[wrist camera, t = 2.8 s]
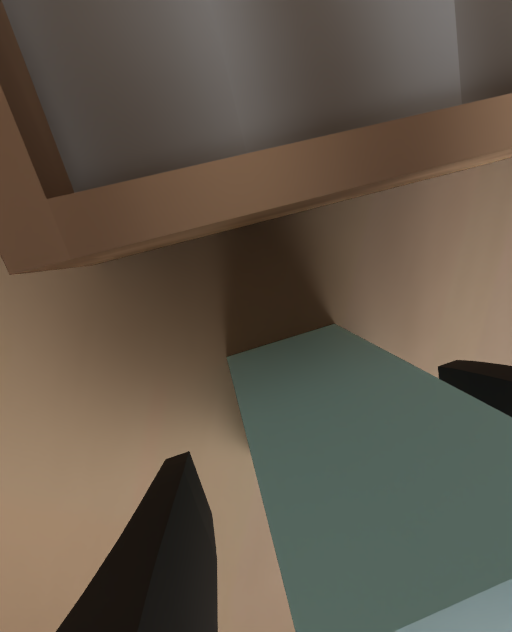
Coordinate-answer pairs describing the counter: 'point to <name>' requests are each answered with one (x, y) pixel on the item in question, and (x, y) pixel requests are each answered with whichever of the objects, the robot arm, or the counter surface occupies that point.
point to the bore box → (232, 113)
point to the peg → (378, 487)
